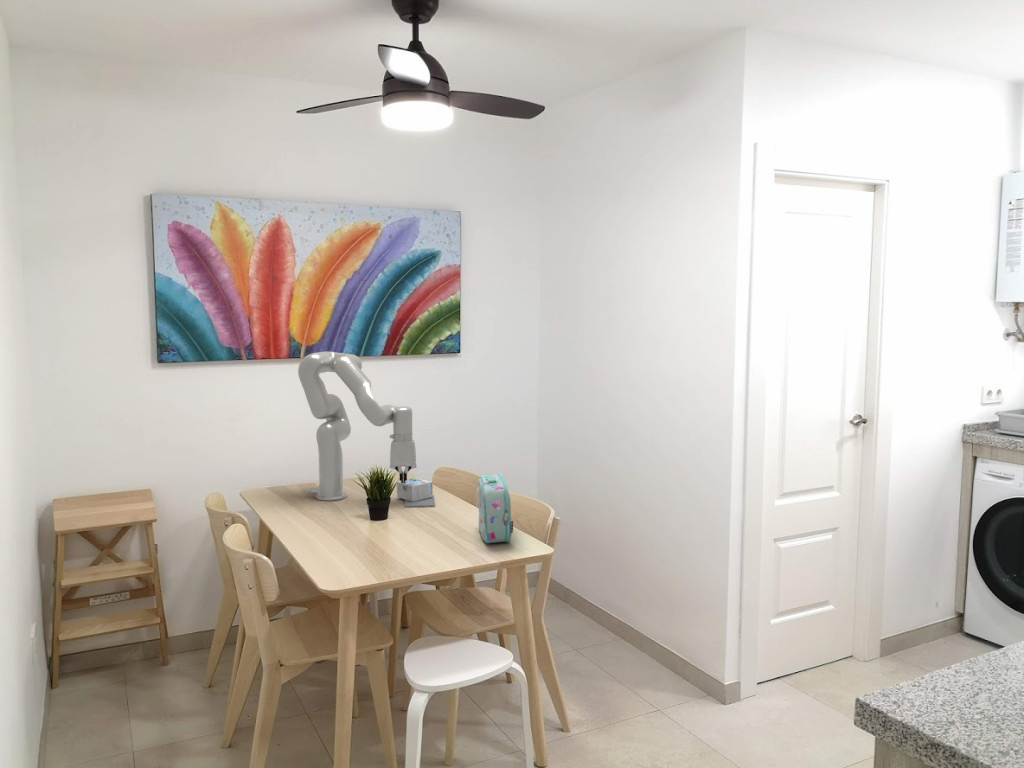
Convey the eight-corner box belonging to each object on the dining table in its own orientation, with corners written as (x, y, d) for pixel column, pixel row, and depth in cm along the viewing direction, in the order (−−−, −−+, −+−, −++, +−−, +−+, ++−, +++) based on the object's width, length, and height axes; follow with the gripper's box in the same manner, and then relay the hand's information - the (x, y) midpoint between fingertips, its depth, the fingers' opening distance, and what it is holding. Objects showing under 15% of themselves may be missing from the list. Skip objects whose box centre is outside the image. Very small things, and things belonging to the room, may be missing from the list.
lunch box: (514, 547, 260) (515, 484, 258) (483, 548, 259) (484, 485, 256) (504, 524, 286) (504, 467, 284) (476, 525, 285) (476, 467, 283)
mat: (404, 507, 308) (404, 506, 308) (404, 497, 324) (404, 495, 324) (435, 506, 310) (435, 505, 310) (433, 496, 326) (433, 495, 325)
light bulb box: (396, 481, 321) (416, 477, 328) (396, 497, 321) (417, 492, 329) (412, 486, 313) (433, 481, 321) (412, 502, 314) (433, 497, 322)
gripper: (383, 439, 308) (384, 485, 310) (421, 438, 310) (422, 484, 312) (384, 436, 316) (384, 480, 318) (421, 435, 318) (421, 479, 320)
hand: (403, 482), depth 315 cm, fingers closed
